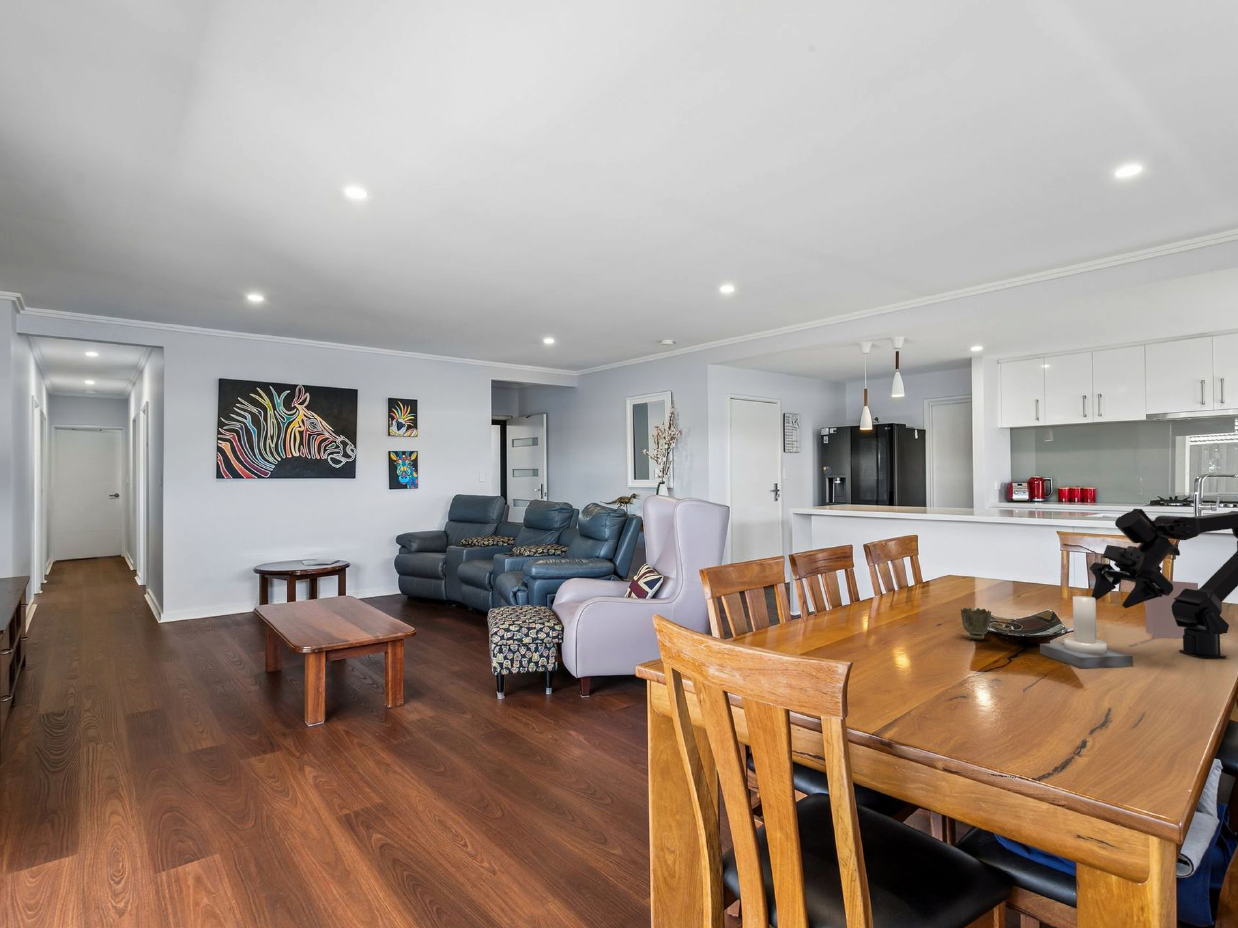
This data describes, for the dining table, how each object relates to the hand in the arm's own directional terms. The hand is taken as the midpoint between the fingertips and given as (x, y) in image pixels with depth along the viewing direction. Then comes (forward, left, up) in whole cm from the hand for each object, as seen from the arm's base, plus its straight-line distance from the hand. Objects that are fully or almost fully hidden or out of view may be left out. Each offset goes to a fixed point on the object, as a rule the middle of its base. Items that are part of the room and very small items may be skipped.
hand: (1107, 603), depth 162 cm
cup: (+20, -22, -14) cm, 33 cm away
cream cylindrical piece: (+6, 0, -11) cm, 13 cm away
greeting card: (-33, -20, -14) cm, 40 cm away
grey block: (+6, 0, -13) cm, 15 cm away
